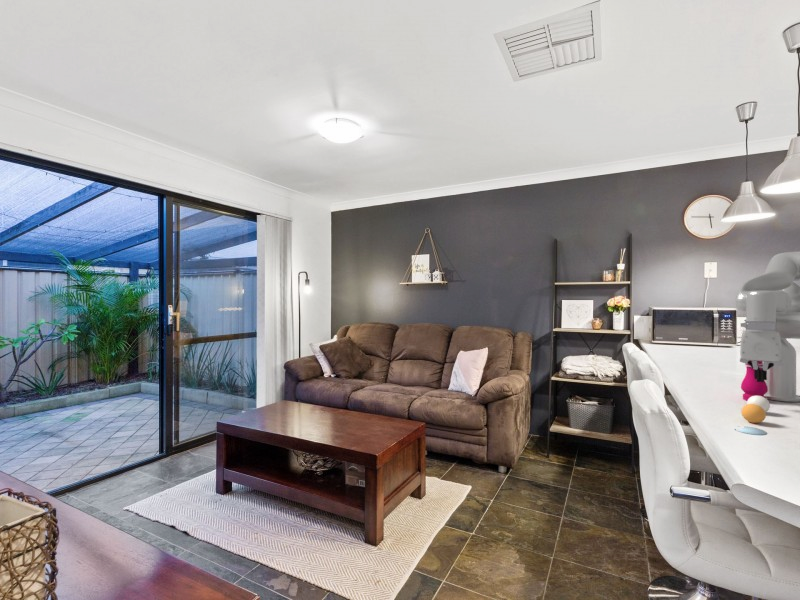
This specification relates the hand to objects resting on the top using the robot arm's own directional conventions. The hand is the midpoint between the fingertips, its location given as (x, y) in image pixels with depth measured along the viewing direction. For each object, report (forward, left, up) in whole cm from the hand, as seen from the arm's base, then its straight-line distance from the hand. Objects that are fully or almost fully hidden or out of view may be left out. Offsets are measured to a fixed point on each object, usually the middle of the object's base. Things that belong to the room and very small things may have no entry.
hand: (760, 381), depth 135 cm
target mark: (+32, +7, -9) cm, 33 cm away
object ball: (+22, +5, -6) cm, 23 cm away
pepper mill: (-10, -5, -9) cm, 14 cm away
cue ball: (+8, +2, -6) cm, 10 cm away
